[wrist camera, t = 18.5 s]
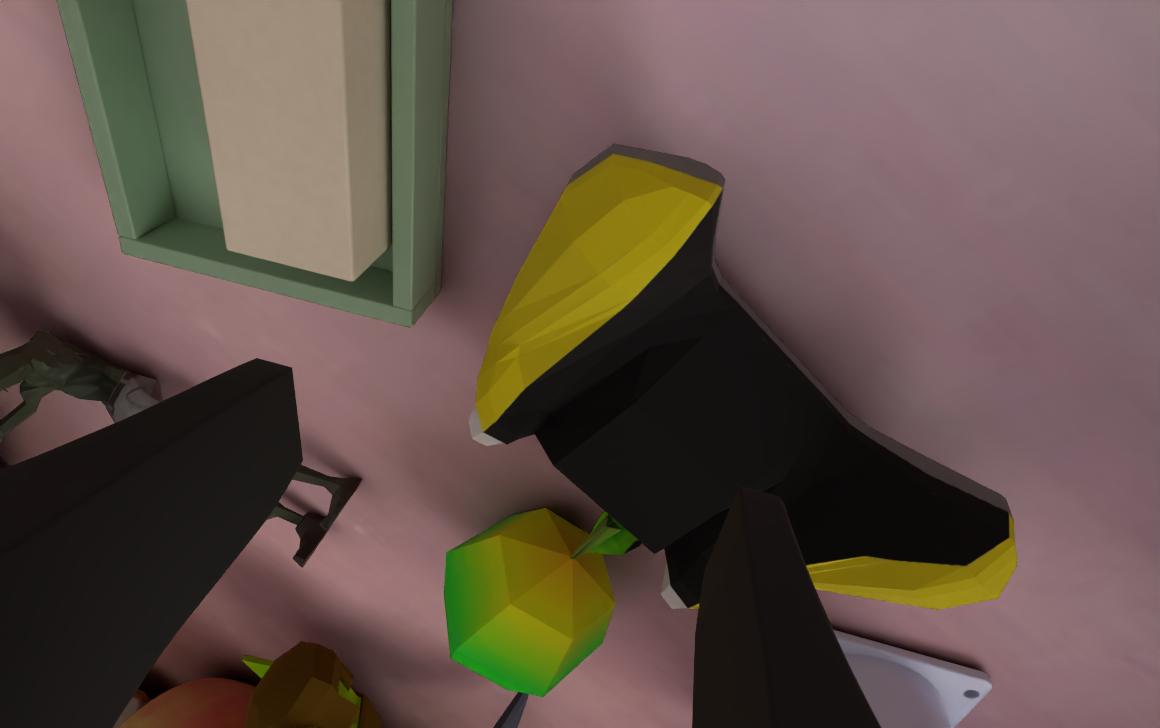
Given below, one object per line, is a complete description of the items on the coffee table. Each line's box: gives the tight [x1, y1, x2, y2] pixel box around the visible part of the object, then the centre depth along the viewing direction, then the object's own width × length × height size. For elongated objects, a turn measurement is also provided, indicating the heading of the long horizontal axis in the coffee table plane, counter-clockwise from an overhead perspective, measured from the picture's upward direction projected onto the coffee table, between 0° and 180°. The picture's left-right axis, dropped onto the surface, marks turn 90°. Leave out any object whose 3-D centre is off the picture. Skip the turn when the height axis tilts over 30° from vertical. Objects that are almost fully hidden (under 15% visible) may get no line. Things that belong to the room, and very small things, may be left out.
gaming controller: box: [468, 144, 1017, 610], centre depth 19 cm, size 15×6×10 cm
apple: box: [444, 508, 641, 697], centre depth 25 cm, size 7×6×9 cm
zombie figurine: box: [0, 331, 363, 567], centre depth 25 cm, size 5×7×15 cm
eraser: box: [186, 0, 392, 281], centre depth 17 cm, size 4×7×4 cm, turn 171°
